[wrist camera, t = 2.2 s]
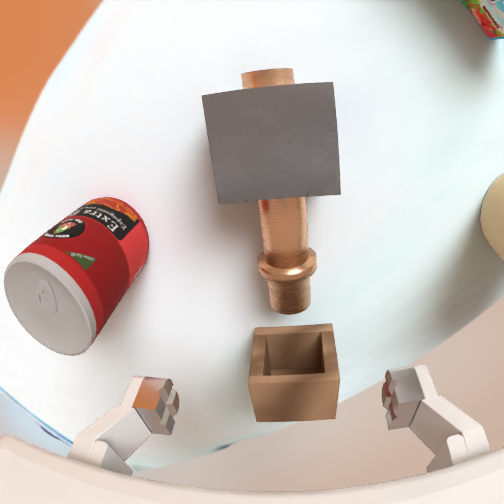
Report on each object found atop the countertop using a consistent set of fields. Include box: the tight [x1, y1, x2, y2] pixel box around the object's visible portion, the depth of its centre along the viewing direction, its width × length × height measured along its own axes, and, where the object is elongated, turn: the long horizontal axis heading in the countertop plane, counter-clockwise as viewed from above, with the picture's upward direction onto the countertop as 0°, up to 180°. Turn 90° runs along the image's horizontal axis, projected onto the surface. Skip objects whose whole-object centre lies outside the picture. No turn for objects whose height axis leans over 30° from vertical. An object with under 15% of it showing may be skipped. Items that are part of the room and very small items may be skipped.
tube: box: [241, 68, 317, 314], centre depth 20 cm, size 4×16×4 cm, turn 7°
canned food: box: [4, 197, 149, 356], centre depth 22 cm, size 8×8×11 cm
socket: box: [248, 324, 340, 422], centre depth 28 cm, size 7×6×7 cm
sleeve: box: [202, 82, 341, 204], centre depth 19 cm, size 7×6×6 cm
